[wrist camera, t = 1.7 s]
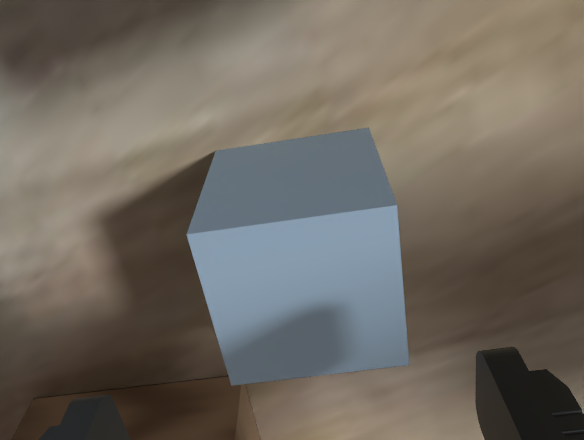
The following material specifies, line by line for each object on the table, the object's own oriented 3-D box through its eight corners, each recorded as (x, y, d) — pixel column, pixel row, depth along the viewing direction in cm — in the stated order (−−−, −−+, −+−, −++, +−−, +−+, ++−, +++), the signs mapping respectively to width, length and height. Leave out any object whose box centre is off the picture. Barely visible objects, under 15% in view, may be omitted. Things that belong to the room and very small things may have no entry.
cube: (368, 126, 19) (396, 205, 14) (381, 257, 22) (409, 364, 16) (215, 150, 19) (186, 234, 14) (246, 275, 22) (231, 385, 17)
